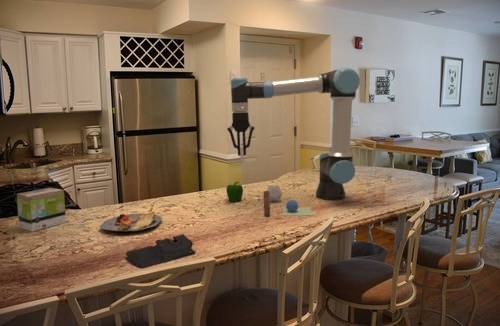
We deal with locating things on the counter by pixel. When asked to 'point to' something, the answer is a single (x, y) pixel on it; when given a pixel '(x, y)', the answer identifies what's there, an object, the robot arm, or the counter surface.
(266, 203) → the gate post
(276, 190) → the die
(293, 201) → the ball
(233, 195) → the bell pepper
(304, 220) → the counter surface
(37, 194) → the tea box
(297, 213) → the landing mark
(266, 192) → the gate post
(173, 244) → the stepped dark grey slab
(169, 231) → the counter surface
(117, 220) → the food plate
